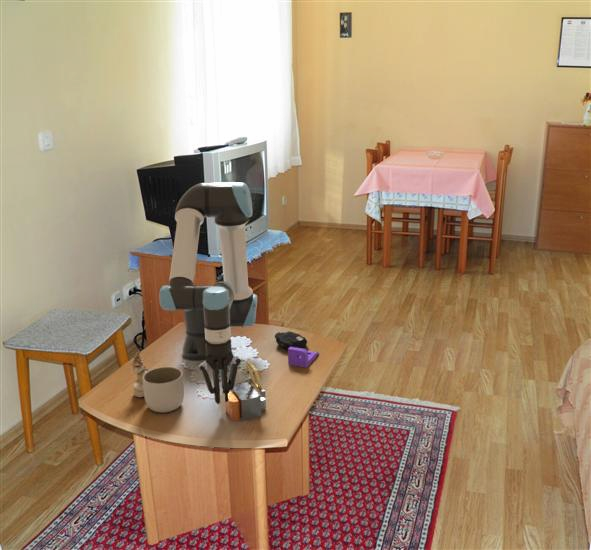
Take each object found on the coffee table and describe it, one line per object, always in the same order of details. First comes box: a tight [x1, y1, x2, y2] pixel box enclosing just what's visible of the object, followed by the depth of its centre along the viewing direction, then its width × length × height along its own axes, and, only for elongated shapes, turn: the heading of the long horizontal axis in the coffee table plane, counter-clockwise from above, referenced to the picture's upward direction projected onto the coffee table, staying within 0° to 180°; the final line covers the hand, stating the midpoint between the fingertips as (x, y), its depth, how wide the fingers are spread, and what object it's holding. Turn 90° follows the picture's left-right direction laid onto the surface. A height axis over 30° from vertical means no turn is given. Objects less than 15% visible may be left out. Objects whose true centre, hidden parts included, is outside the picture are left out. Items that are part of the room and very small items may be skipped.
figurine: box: [130, 352, 149, 398], centre depth 213 cm, size 7×7×15 cm
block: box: [230, 376, 266, 422], centre depth 202 cm, size 11×8×8 cm
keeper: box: [246, 360, 263, 393], centre depth 200 cm, size 8×1×8 cm, turn 24°
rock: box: [274, 331, 308, 350], centre depth 247 cm, size 10×9×6 cm
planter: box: [142, 366, 185, 414], centre depth 205 cm, size 12×12×11 cm
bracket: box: [287, 347, 320, 369], centre depth 236 cm, size 12×7×7 cm, turn 156°
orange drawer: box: [225, 390, 267, 421], centre depth 202 cm, size 11×7×6 cm, turn 114°
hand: (222, 411), depth 199 cm, fingers closed
